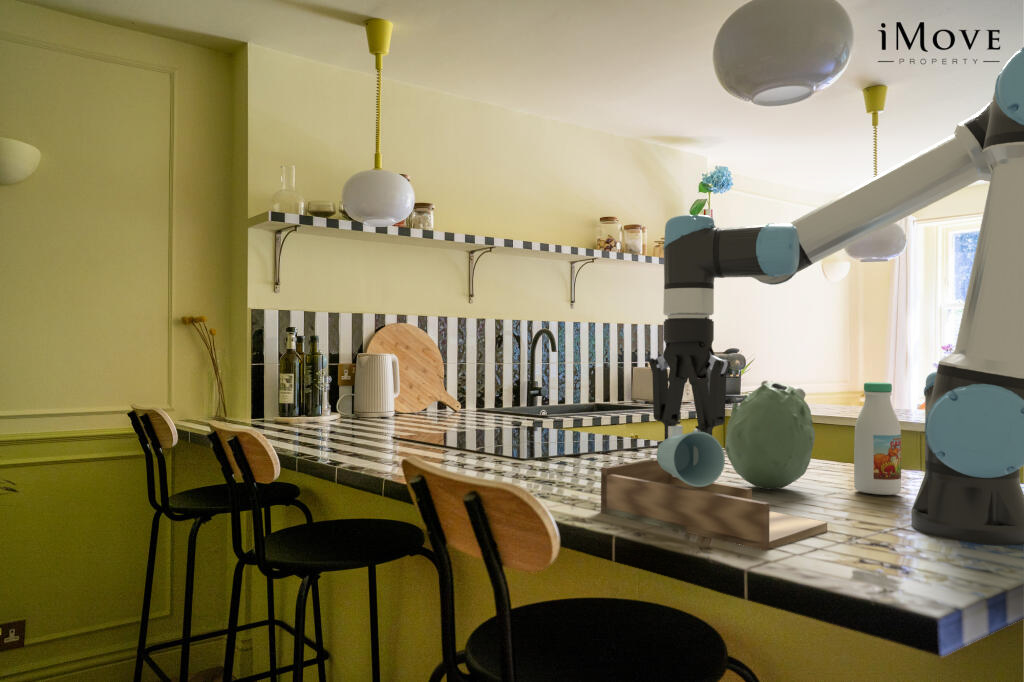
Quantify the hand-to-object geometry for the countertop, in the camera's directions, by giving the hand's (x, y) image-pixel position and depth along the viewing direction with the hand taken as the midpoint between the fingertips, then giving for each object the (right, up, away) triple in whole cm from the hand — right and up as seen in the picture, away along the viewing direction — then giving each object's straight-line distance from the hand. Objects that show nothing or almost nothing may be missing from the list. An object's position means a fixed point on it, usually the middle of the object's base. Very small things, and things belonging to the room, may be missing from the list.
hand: (687, 469), depth 113 cm
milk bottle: (+40, -8, +22) cm, 46 cm away
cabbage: (+21, -8, +25) cm, 33 cm away
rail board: (+2, -8, -3) cm, 9 cm away
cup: (+1, -1, -1) cm, 2 cm away
